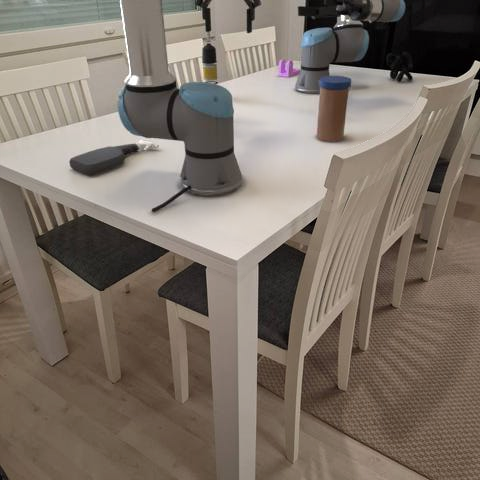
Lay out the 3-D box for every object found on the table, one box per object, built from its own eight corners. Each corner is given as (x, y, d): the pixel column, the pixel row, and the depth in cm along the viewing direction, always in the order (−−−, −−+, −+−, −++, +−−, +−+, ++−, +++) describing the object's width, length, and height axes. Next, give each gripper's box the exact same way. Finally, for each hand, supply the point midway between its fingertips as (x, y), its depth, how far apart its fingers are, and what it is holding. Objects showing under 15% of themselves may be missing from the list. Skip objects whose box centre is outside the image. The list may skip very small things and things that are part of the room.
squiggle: (400, 92, 202) (376, 71, 205) (417, 76, 202) (392, 56, 205) (405, 81, 191) (380, 59, 194) (423, 64, 191) (397, 42, 194)
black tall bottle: (220, 99, 177) (217, 15, 161) (206, 100, 176) (202, 16, 160) (215, 96, 182) (212, 14, 166) (202, 97, 180) (197, 14, 164)
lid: (355, 84, 130) (356, 77, 129) (343, 91, 124) (344, 84, 123) (326, 80, 135) (327, 74, 134) (313, 87, 128) (313, 80, 127)
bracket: (288, 77, 209) (289, 61, 205) (278, 75, 212) (278, 60, 208) (302, 72, 218) (303, 57, 214) (292, 70, 221) (293, 55, 217)
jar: (347, 136, 138) (353, 79, 129) (336, 143, 133) (342, 85, 124) (323, 131, 142) (327, 76, 133) (312, 139, 137) (316, 82, 128)
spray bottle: (67, 168, 120) (139, 144, 136) (91, 178, 114) (163, 151, 130) (65, 157, 118) (137, 134, 134) (89, 167, 112) (162, 142, 128)
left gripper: (272, -51, 127) (270, 31, 138) (192, -49, 134) (197, 29, 145) (264, -51, 121) (263, 34, 132) (181, -49, 128) (187, 32, 139)
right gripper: (392, 11, 137) (337, 8, 128) (339, 28, 158) (289, 27, 149) (392, -17, 135) (336, -21, 126) (339, 5, 156) (288, 3, 147)
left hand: (228, 32), depth 139 cm, fingers open, 13 cm apart
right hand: (310, 5), depth 138 cm, fingers open, 13 cm apart
